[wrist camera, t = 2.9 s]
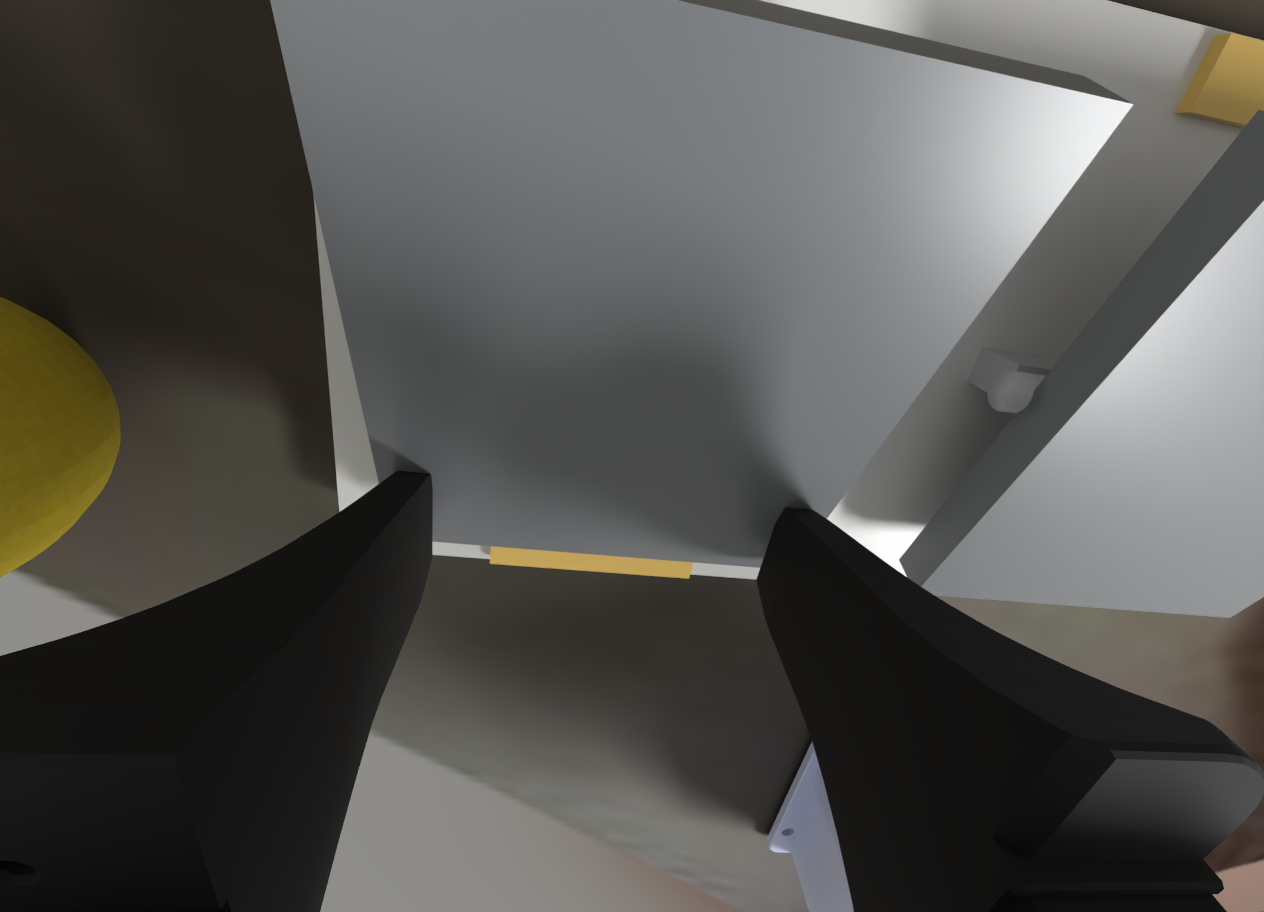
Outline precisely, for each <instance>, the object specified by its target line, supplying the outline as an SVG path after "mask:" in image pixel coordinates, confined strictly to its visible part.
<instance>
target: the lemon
mask: <svg viewBox="0 0 1264 912" xmlns="http://www.w3.org/2000/svg"><path fill="white" fill-rule="evenodd" d="M120 440H121V433H120V414H119V410H118V406H117V403H116V400H115V398H114V395H113V392H112V389H111V386H110V384H109V382H108V381H107V379H106V378H105V376H104V375H103V373H102V371H101V370H100V368H99V367H98V365H97V364H96V362H95V361H94V360H93V359H92V358H91V357H90V356H89V355H88V354H87V353H86V352H85V351H84V350H83V348H82V347H81V346H80V345H79V344H78V343H77V342H76V341H75V340H74V339H72V338H71V337H70V336H68V335H67V334H66V333H64V332H63V331H62V330H60V329H59V328H57V327H56V326H55V325H53V324H52V323H51V322H49V321H48V320H46V319H44V318H42V317H40V316H38V315H36V314H34V313H33V312H31V311H29V310H27V309H25V308H23V307H21V306H19V305H17V304H15V303H13V302H11V301H9V300H7V299H5V298H2V297H0V577H2V576H3V575H5V574H7V573H9V572H10V571H12V570H14V569H16V568H17V567H19V566H21V565H23V564H24V563H26V562H28V561H29V560H31V559H32V558H34V557H35V556H37V555H38V554H40V553H41V552H43V551H44V550H45V549H47V548H48V547H49V546H50V545H52V544H53V543H54V542H55V541H57V540H58V539H59V538H60V537H61V536H62V535H63V534H65V533H66V532H67V531H68V530H69V529H70V528H71V527H72V526H73V525H74V524H75V522H76V521H77V520H78V519H79V518H80V517H81V515H82V514H83V513H84V512H85V511H86V509H87V508H88V507H89V506H90V505H91V504H92V502H93V501H94V500H95V499H96V498H97V497H98V495H99V494H100V493H101V491H102V490H103V488H104V487H105V485H106V483H107V482H108V480H109V477H110V475H111V472H112V470H113V467H114V464H115V461H116V457H117V454H118V451H119V448H120Z"/></svg>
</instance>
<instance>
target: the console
mask: <svg viewBox="0 0 1264 912" xmlns="http://www.w3.org/2000/svg"><path fill="white" fill-rule="evenodd" d="M761 1H765V2H769V3H774V4H778V5H782V6H786V7H791V8H795V9H799V10H804V11H808V12H812V13H816V14H821V15H825V16H829V17H834V18H838V19H842V20H846V21H851V22H855V23H859V24H864V25H868V26H872V27H877V28H881V29H885V30H889V31H894V32H898V33H902V34H907V35H911V36H915V37H919V38H924V39H928V40H932V41H937V42H941V43H945V44H949V45H954V46H958V47H962V48H967V49H971V50H975V51H979V52H984V53H988V54H992V55H997V56H1001V57H1005V58H1010V59H1014V60H1018V61H1022V62H1027V63H1031V64H1035V65H1040V66H1044V67H1048V68H1052V69H1057V70H1061V71H1065V72H1070V73H1074V74H1078V75H1082V76H1085V77H1087V78H1089V79H1091V80H1092V81H1094V82H1096V83H1098V84H1099V85H1101V86H1103V87H1105V88H1106V89H1108V90H1110V91H1112V92H1113V93H1115V94H1117V95H1118V96H1120V97H1122V98H1124V99H1125V100H1127V101H1129V102H1131V103H1132V104H1133V106H1132V107H1131V109H1130V110H1129V111H1128V113H1127V114H1126V115H1125V117H1124V118H1123V119H1122V121H1121V122H1120V123H1119V125H1118V126H1117V127H1116V129H1115V130H1114V131H1113V133H1112V134H1111V136H1110V137H1109V138H1108V140H1107V141H1106V142H1105V144H1104V145H1103V146H1102V148H1101V149H1100V150H1099V152H1098V153H1097V154H1096V156H1095V157H1094V159H1093V160H1092V161H1091V163H1090V164H1089V165H1088V167H1087V168H1086V169H1085V171H1084V172H1083V173H1082V175H1081V176H1080V177H1079V179H1078V180H1077V181H1076V183H1075V184H1074V186H1073V187H1072V188H1071V190H1070V191H1069V192H1068V194H1067V195H1066V196H1065V198H1064V199H1063V200H1062V202H1061V203H1060V204H1059V206H1058V207H1057V209H1056V210H1055V211H1054V213H1053V214H1052V215H1051V217H1050V218H1049V219H1048V221H1047V222H1046V223H1045V225H1044V226H1043V227H1042V229H1041V230H1040V231H1039V233H1038V234H1037V236H1036V237H1035V238H1034V240H1033V241H1032V242H1031V244H1030V245H1029V246H1028V248H1027V249H1026V250H1025V252H1024V253H1023V254H1022V256H1021V257H1020V258H1019V260H1018V261H1017V263H1016V264H1015V265H1014V267H1013V268H1012V269H1011V271H1010V272H1009V273H1008V275H1007V276H1006V277H1005V279H1004V280H1003V281H1002V283H1001V284H1000V286H999V287H998V288H997V290H996V291H995V292H994V294H993V295H992V296H991V298H990V299H989V300H988V302H987V303H986V304H985V306H984V307H983V308H982V310H981V311H980V313H979V314H978V315H977V317H976V318H975V319H974V321H973V322H972V323H971V325H970V326H969V327H968V329H967V330H966V331H965V333H964V334H963V336H962V337H961V338H960V340H959V341H958V342H957V344H956V345H955V346H954V348H953V349H952V350H951V352H950V353H949V354H948V356H947V357H946V358H945V360H944V361H943V363H942V364H941V365H940V367H939V368H938V369H937V371H936V372H935V373H934V375H933V376H932V377H931V379H930V380H929V381H928V383H927V384H926V386H925V387H924V388H923V390H922V391H921V392H920V394H919V395H918V396H917V398H916V399H915V400H914V402H913V403H912V404H911V406H910V407H909V408H908V410H907V411H906V413H905V414H904V415H903V417H902V418H901V419H900V421H899V422H898V423H897V425H896V426H895V427H894V429H893V430H892V431H891V433H890V434H889V436H888V437H887V438H886V440H885V441H884V442H883V444H882V445H881V446H880V448H879V449H878V450H877V452H876V453H875V454H874V456H873V457H872V458H871V460H870V461H869V463H868V464H867V465H866V467H865V468H864V469H863V471H862V472H861V473H860V475H859V476H858V477H857V479H856V480H855V481H854V483H853V484H852V486H851V487H850V488H849V490H848V491H847V492H846V494H845V495H844V496H843V498H842V499H841V500H840V502H839V503H838V504H837V506H836V507H835V508H834V510H833V511H832V513H831V514H830V515H829V517H828V518H827V519H828V520H829V521H830V522H832V523H833V524H835V525H836V526H837V527H839V528H840V529H841V530H843V531H844V532H845V533H847V534H848V535H849V536H851V537H852V538H853V539H855V540H856V541H858V542H859V543H860V544H862V545H863V546H864V547H866V548H867V549H868V550H870V551H871V552H872V553H874V554H875V555H876V556H878V557H879V558H881V559H882V560H883V561H885V562H886V563H887V564H889V565H890V566H892V567H893V568H894V569H896V570H897V571H899V572H900V573H902V574H903V575H904V576H906V574H905V572H904V570H903V568H902V565H901V563H900V561H899V559H900V558H901V556H902V555H903V554H904V553H905V551H906V550H907V549H908V548H909V546H910V545H911V544H912V543H913V541H914V540H915V539H916V538H917V536H918V535H919V534H920V533H921V531H922V530H923V529H924V528H925V526H926V525H927V524H928V523H929V521H930V520H931V519H932V518H933V516H934V515H935V514H936V513H937V511H938V510H939V509H940V508H941V506H942V505H943V504H944V503H945V501H946V500H947V499H948V498H949V496H950V495H951V494H952V493H953V491H954V490H955V489H956V488H957V486H958V485H959V484H960V483H961V481H962V480H963V479H964V478H965V476H966V475H967V474H968V473H969V471H970V470H971V469H972V468H973V466H974V465H975V464H976V463H977V461H978V460H979V459H980V458H981V456H982V455H983V454H984V453H985V451H986V450H987V449H988V448H989V446H990V445H991V444H992V443H993V441H994V440H995V439H996V438H997V436H998V435H999V434H1000V433H1001V431H1002V430H1003V429H1004V428H1005V426H1006V425H1007V424H1008V423H1009V421H1010V420H1011V419H1012V418H1013V416H1014V415H1015V414H1016V413H1010V412H1002V411H996V410H994V409H993V408H992V407H991V406H990V404H989V402H988V388H989V385H990V383H991V381H992V380H993V378H994V377H995V376H996V375H997V374H998V373H1000V372H1002V371H1004V370H1011V371H1018V372H1025V373H1032V374H1039V375H1047V374H1048V372H1049V371H1050V370H1051V369H1052V367H1053V366H1054V365H1055V364H1056V362H1057V361H1058V360H1059V359H1060V357H1061V356H1062V355H1063V354H1064V352H1065V351H1066V350H1067V349H1068V347H1069V346H1070V345H1071V344H1072V342H1073V341H1074V340H1075V339H1076V337H1077V336H1078V335H1079V334H1080V332H1081V331H1082V330H1083V329H1084V327H1085V326H1086V325H1087V324H1088V322H1089V321H1090V320H1091V319H1092V317H1093V316H1094V315H1095V314H1096V312H1097V311H1098V310H1099V309H1100V307H1101V306H1102V305H1103V304H1104V302H1105V301H1106V300H1107V299H1108V297H1109V296H1110V295H1111V294H1112V292H1113V291H1114V290H1115V289H1116V287H1117V286H1118V285H1119V284H1120V282H1121V281H1122V280H1123V279H1124V277H1125V276H1126V275H1127V274H1128V272H1129V271H1130V270H1131V269H1132V267H1133V266H1134V265H1135V264H1136V262H1137V261H1138V260H1139V259H1140V257H1141V256H1142V255H1143V254H1144V252H1145V251H1146V250H1147V249H1148V247H1149V246H1150V245H1151V244H1152V242H1153V241H1154V240H1155V239H1156V237H1157V236H1158V235H1159V234H1160V232H1161V231H1162V230H1163V229H1164V227H1165V226H1166V225H1167V224H1168V222H1169V221H1170V220H1171V219H1172V217H1173V216H1174V215H1175V214H1176V212H1177V211H1178V210H1179V209H1180V207H1181V206H1182V205H1183V204H1184V202H1185V201H1186V200H1187V199H1188V197H1189V196H1190V195H1191V194H1192V192H1193V191H1194V190H1195V189H1196V187H1197V186H1198V185H1199V184H1200V182H1201V181H1202V180H1203V179H1204V177H1205V176H1206V175H1207V174H1208V172H1209V171H1210V170H1211V169H1212V167H1213V166H1214V165H1215V164H1216V162H1217V161H1218V160H1219V159H1220V157H1221V156H1222V155H1223V154H1224V152H1225V151H1226V150H1227V149H1228V147H1229V146H1230V145H1231V144H1232V142H1233V141H1234V140H1235V139H1236V137H1237V136H1238V135H1239V134H1240V132H1241V131H1242V130H1243V129H1244V127H1245V126H1246V125H1247V124H1248V122H1249V121H1250V120H1251V119H1252V117H1253V116H1254V115H1255V114H1256V112H1257V111H1258V110H1263V111H1264V41H1263V40H1259V39H1256V38H1252V37H1248V36H1244V35H1240V34H1236V33H1232V32H1228V31H1224V30H1221V29H1217V28H1213V27H1209V26H1205V25H1201V24H1197V23H1193V22H1189V21H1186V20H1182V19H1178V18H1174V17H1170V16H1166V15H1162V14H1158V13H1155V12H1151V11H1147V10H1143V9H1139V8H1135V7H1131V6H1127V5H1123V4H1120V3H1116V2H1112V1H1108V0H761ZM313 194H314V193H313ZM314 207H315V219H316V231H317V244H318V256H319V268H320V281H321V293H322V305H323V317H324V330H325V342H326V354H327V367H328V379H329V391H330V404H331V416H332V428H333V440H334V453H335V465H336V477H337V490H338V502H339V512H340V511H342V510H343V509H345V508H346V507H347V506H349V505H350V504H352V503H353V502H355V501H356V500H357V499H359V498H360V497H362V496H363V495H364V494H366V493H367V492H368V491H370V490H371V489H373V488H374V487H375V486H377V485H378V484H379V482H378V478H377V473H376V469H375V464H374V460H373V455H372V451H371V446H370V442H369V438H368V433H367V429H366V424H365V420H364V415H363V411H362V406H361V402H360V398H359V393H358V389H357V384H356V380H355V375H354V371H353V366H352V362H351V358H350V353H349V349H348V344H347V340H346V335H345V331H344V326H343V322H342V318H341V313H340V309H339V304H338V300H337V295H336V291H335V286H334V282H333V278H332V273H331V269H330V264H329V260H328V255H327V251H326V246H325V242H324V238H323V233H322V229H321V224H320V220H319V215H318V211H317V207H316V202H315V198H314ZM432 555H443V556H456V557H469V558H482V559H490V564H501V565H514V566H527V567H541V568H554V569H567V570H580V571H594V572H607V573H620V574H634V575H647V576H660V577H673V578H687V579H689V577H690V574H691V575H704V576H717V577H730V578H743V579H757V576H758V573H759V570H760V568H757V567H744V566H732V565H719V564H707V563H694V562H681V561H669V560H656V559H644V558H631V557H619V556H606V555H594V554H581V553H569V552H556V551H543V550H531V549H518V548H506V547H493V546H481V545H468V544H456V543H443V542H432ZM906 577H907V576H906Z"/></svg>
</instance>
